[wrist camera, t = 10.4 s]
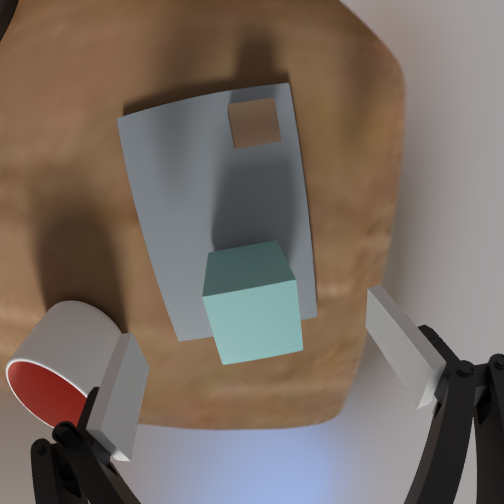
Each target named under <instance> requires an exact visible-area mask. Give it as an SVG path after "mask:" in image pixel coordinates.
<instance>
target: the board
mask: <svg viewBox="0 0 504 504" xmlns="http://www.w3.org/2000/svg"><path fill="white" fill-rule="evenodd" d="M268 98H274V100H275V106H276V111H277V117H278V123H279V129H280V135H281V141H282V142H275V143H268V144H261V145H255V146H249V147H243V148H237V149H235V148H234V147H233V141H232V135H231V130H230V124H229V119H228V104H233V103H239V102H246V101H253V100H260V99H268ZM117 123H118V129H119V134H120V140H121V145H122V150H123V155H124V160H125V164H126V169H127V173H128V178H129V182H130V186H131V190H132V195H133V199H134V203H135V207H136V210H137V214H138V218H139V222H140V225H141V229H142V233H143V236H144V240H145V243H146V246H147V250H148V253H149V256H150V260H151V263H152V266H153V269H154V272H155V276H156V279H157V282H158V285H159V288H160V291H161V294H162V297H163V299H164V302H165V305H166V308H167V311H168V314H169V316H170V319H171V322H172V325H173V327H174V330H175V333H176V335H177V338H178V340H179V341H186V340H193V339H200V338H207V337H213V336H214V335H213V332H212V329H211V325H210V322H209V319H208V315H207V312H206V308H205V305H204V302H203V298H202V295H203V287H204V280H205V272H206V265H207V258H208V253H209V252H215V251H220V250H225V249H230V248H236V247H241V246H247V245H252V244H257V243H263V242H268V241H273V240H277V241H278V243H279V245H280V247H281V249H282V252H283V254H284V256H285V258H286V260H287V262H288V264H289V266H290V268H291V270H292V272H293V274H294V276H295V278H296V283H297V292H298V301H299V311H300V320H305V319H309V318H314V317H317V306H316V291H315V278H314V266H313V254H312V244H311V234H310V224H309V215H308V206H307V198H306V190H305V182H304V174H303V167H302V160H301V153H300V146H299V139H298V133H297V126H296V120H295V114H294V108H293V103H292V97H291V91H290V86H289V83H282V84H272V85H264V86H256V87H248V88H242V89H235V90H229V91H223V92H218V93H212V94H207V95H202V96H198V97H193V98H188V99H184V100H180V101H176V102H172V103H168V104H164V105H160V106H156V107H153V108H149V109H146V110H142V111H139V112H136V113H132V114H129V115H126V116H123V117H120V118H117Z"/></svg>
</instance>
